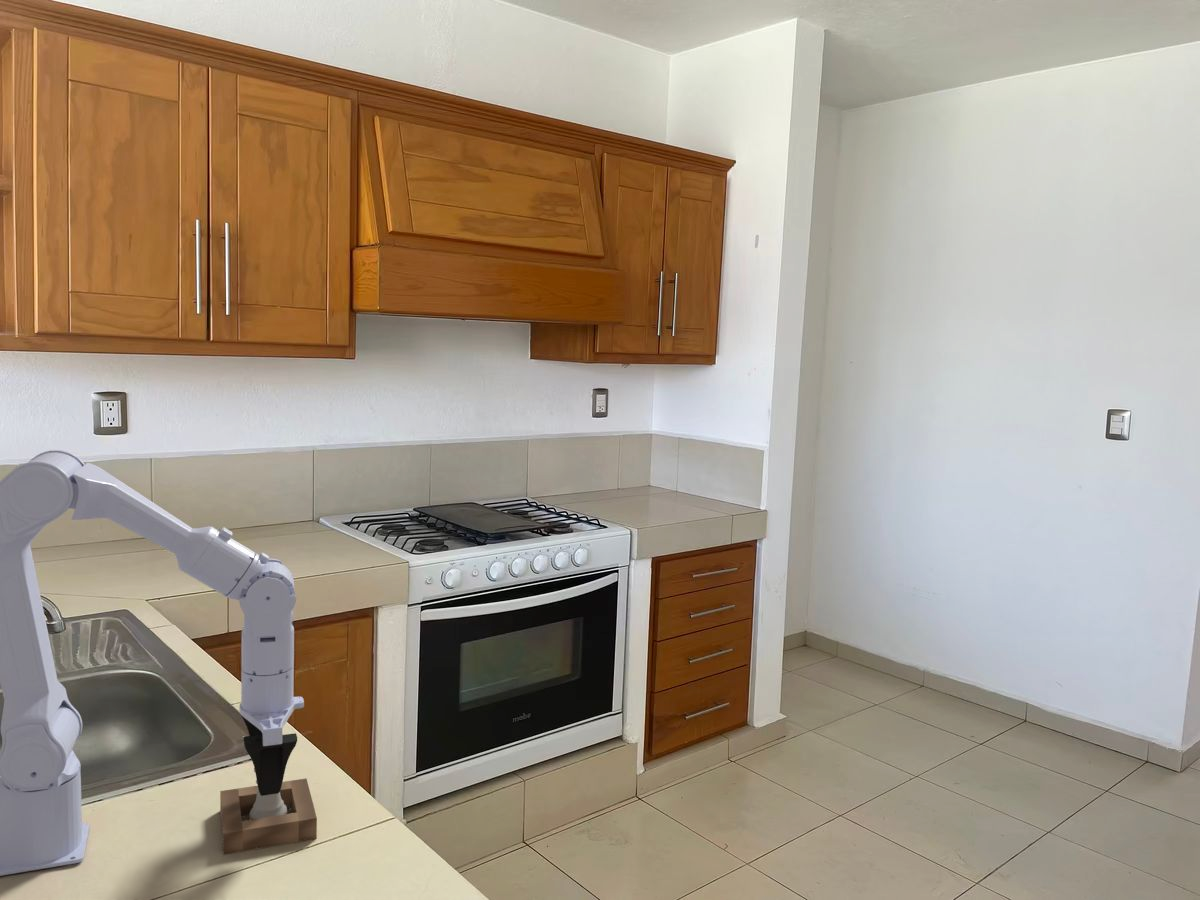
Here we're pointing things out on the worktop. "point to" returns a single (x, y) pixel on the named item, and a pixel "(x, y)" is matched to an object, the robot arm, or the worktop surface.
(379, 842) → the worktop surface
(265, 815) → the rook chess piece
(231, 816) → the walnut docking collar
